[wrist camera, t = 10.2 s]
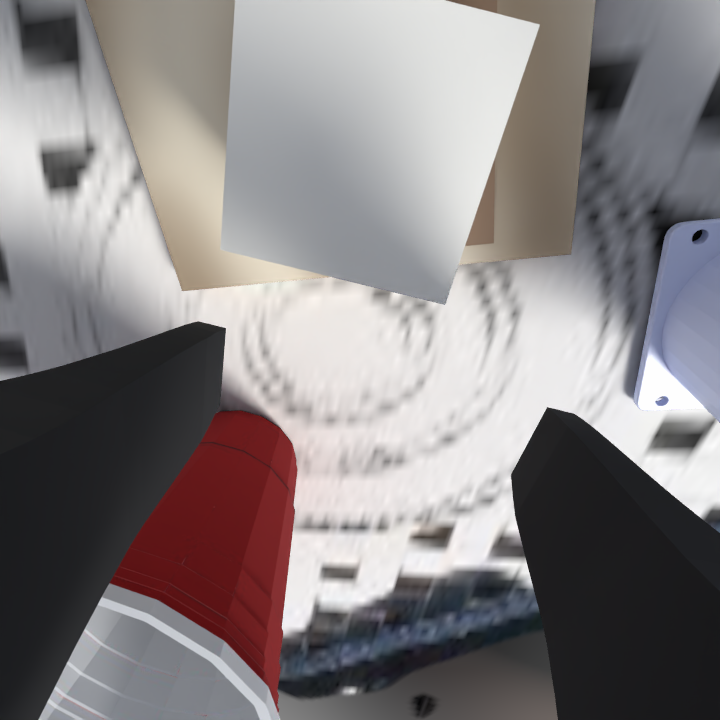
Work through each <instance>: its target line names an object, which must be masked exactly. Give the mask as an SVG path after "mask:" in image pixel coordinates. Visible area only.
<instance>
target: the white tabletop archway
mask: <svg viewBox="0 0 720 720" xmlns="http://www.w3.org/2000/svg"><path fill="white" fill-rule="evenodd" d="M539 26H540V24H536V23H532V22H528V21H524V20H520V19H516V18H512V17H508V16H504V15H501V14H497V13H493V12H489V11H485V10H481V9H477V8H473V7H469V6H466V5H462V4H458V3H454V2H450V1H446V0H235V10H234V27H233V44H232V61H231V78H230V94H229V111H228V128H227V145H226V162H225V179H224V195H223V212H222V229H221V246H220V250H223V251H227V252H231V253H235V254H240V255H244V256H248V257H252V258H256V259H260V260H264V261H268V262H272V263H276V264H280V265H285V266H289V267H293V268H297V269H301V270H305V271H309V272H313V273H317V274H321V275H325V276H329V277H334V278H338V279H342V280H346V281H350V282H354V283H358V284H362V285H366V286H370V287H374V288H379V289H383V290H387V291H391V292H395V293H399V294H403V295H407V296H411V297H415V298H419V299H423V300H428V301H432V302H436V303H440V304H444V305H445V303H446V300H447V298H448V295H449V292H450V289H451V286H452V283H453V280H454V277H455V274H456V271H457V268H458V265H459V262H460V259H461V256H462V253H463V250H464V247H465V244H466V241H467V239H468V236H469V233H470V230H471V227H472V224H473V221H474V218H475V215H476V212H477V209H478V206H479V203H480V200H481V197H482V194H483V191H484V188H485V185H486V182H487V180H488V177H489V174H490V171H491V168H492V165H493V162H494V159H495V156H496V153H497V150H498V147H499V144H500V141H501V138H502V135H503V132H504V129H505V126H506V123H507V121H508V118H509V115H510V112H511V109H512V106H513V103H514V100H515V97H516V94H517V91H518V88H519V85H520V82H521V79H522V76H523V73H524V70H525V67H526V65H527V62H528V59H529V56H530V53H531V50H532V47H533V44H534V41H535V38H536V35H537V32H538V29H539Z"/></svg>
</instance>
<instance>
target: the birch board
mask: <svg viewBox="0 0 720 720" xmlns="http://www.w3.org/2000/svg"><path fill="white" fill-rule="evenodd" d="M85 1H86V4H87V7H88V10H89V13H90V16H91V19H92V22H93V25H94V28H95V31H96V34H97V37H98V40H99V43H100V46H101V49H102V52H103V55H104V58H105V61H106V64H107V67H108V70H109V73H110V76H111V79H112V82H113V85H114V88H115V91H116V94H117V97H118V100H119V103H120V106H121V109H122V112H123V115H124V118H125V121H126V124H127V127H128V130H129V133H130V136H131V139H132V142H133V145H134V148H135V151H136V154H137V157H138V160H139V163H140V166H141V169H142V172H143V175H144V178H145V181H146V184H147V187H148V190H149V193H150V196H151V199H152V202H153V205H154V208H155V211H156V214H157V217H158V220H159V223H160V226H161V229H162V232H163V235H164V238H165V241H166V244H167V247H168V250H169V253H170V256H171V259H172V262H173V265H174V268H175V271H176V274H177V277H178V280H179V283H180V286H181V288H182V291H188V290H199V289H209V288H220V287H230V286H241V285H251V284H262V283H272V282H283V281H294V280H304V279H315V278H325V277H329V276H325V275H321V274H317V273H313V272H309V271H305V270H301V269H297V268H293V267H289V266H285V265H280V264H276V263H272V262H268V261H264V260H260V259H256V258H252V257H248V256H244V255H240V254H235V253H231V252H227V251H223V250H220V246H221V229H222V212H223V195H224V179H225V162H226V145H227V128H228V111H229V94H230V78H231V61H232V44H233V27H234V10H235V0H85ZM446 1H450V2H454V3H458V4H462V5H466V6H469V7H473V8H477V9H481V10H485V11H489V12H493V13H497V14H501V15H504V16H508V17H512V18H516V19H520V20H524V21H528V22H532V23H536V24H540V26H539V29H538V32H537V35H536V38H535V41H534V44H533V47H532V50H531V53H530V56H529V59H528V62H527V65H526V67H525V70H524V73H523V76H522V79H521V82H520V85H519V88H518V91H517V94H516V97H515V100H514V103H513V106H512V109H511V112H510V115H509V118H508V121H507V123H506V126H505V129H504V132H503V135H502V138H501V141H500V144H499V147H498V150H497V153H496V156H495V159H494V162H493V165H492V168H491V171H490V174H489V177H488V180H487V182H486V185H485V188H484V191H483V194H482V197H481V200H480V203H479V206H478V209H477V212H476V215H475V218H474V221H473V224H472V227H471V230H470V233H469V236H468V239H467V241H466V244H465V247H464V250H463V253H462V256H461V259H460V262H459V265H463V264H473V263H484V262H494V261H505V260H516V259H526V258H537V257H547V256H558V255H568V254H571V250H572V240H573V230H574V219H575V209H576V199H577V188H578V178H579V168H580V158H581V147H582V137H583V127H584V116H585V106H586V96H587V86H588V75H589V65H590V55H591V44H592V34H593V24H594V14H595V3H596V0H446Z"/></svg>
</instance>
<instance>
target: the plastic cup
mask: <svg viewBox="0 0 720 720" xmlns="http://www.w3.org/2000/svg"><path fill="white" fill-rule="evenodd" d="M296 477H297V466H296V457H295V453H294V449H293V445H292V443H291V442H290V440H289V439H288V438H287V436H286V435H285V434H284V433H283V431H282V430H281V429H280V428H279V427H277V426H276V425H274V424H273V423H271V422H270V421H268V420H267V419H265V418H264V417H262V416H259V415H255V414H251V413H248V412H244V411H241V410H240V411H220V412H218V413H216V414H215V415H214V417H213V419H212V421H211V424H210V425H209V427H208V429H207V431H206V433H205V435H204V437H203V439H202V441H201V442H200V444H199V445H198V447H197V448H196V450H195V451H194V453H193V454H192V456H191V457H190V459H189V460H188V461H187V463H186V464H185V466H184V467H183V469H182V470H181V472H180V473H179V474H178V476H177V477H176V479H175V480H174V482H173V483H172V485H171V486H170V487H169V489H168V490H167V492H166V493H165V495H164V496H163V497H162V499H161V500H160V502H159V503H158V505H157V506H156V507H155V509H154V510H153V512H152V513H151V515H150V516H149V518H148V519H147V520H146V522H145V523H144V525H143V526H142V528H141V530H140V531H139V533H138V534H137V536H136V537H135V539H134V541H133V542H132V544H131V545H130V547H129V549H128V551H127V552H126V554H125V556H124V558H123V560H122V561H121V563H120V565H119V567H118V569H117V570H116V572H115V574H114V576H113V578H112V579H111V581H110V583H109V585H108V587H107V588H106V590H105V592H104V594H103V596H102V598H101V599H100V601H99V603H98V605H97V607H96V609H95V611H94V613H93V614H92V616H91V618H90V620H89V622H88V624H87V626H86V628H85V630H84V631H83V633H82V635H81V637H80V639H79V641H78V643H77V645H76V646H75V648H74V650H73V652H72V654H71V656H70V658H69V660H68V662H67V664H66V666H65V668H64V670H63V672H62V674H61V676H60V678H59V680H58V682H57V684H56V686H55V688H54V690H53V692H52V694H51V696H50V698H49V700H48V702H47V704H46V706H45V708H44V710H43V712H42V714H41V716H40V718H39V720H280V717H279V714H278V712H279V709H278V706H277V703H278V697H279V695H278V692H277V688H278V681H279V675H280V669H281V667H280V664H279V658H280V651H281V644H282V638H283V630H282V619H283V610H284V601H285V592H286V584H287V575H288V566H289V557H290V549H291V540H292V531H293V523H294V514H295V509H294V506H293V504H294V495H295V486H296Z"/></svg>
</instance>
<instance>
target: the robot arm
mask: <svg viewBox="0 0 720 720" xmlns="http://www.w3.org/2000/svg"><path fill="white" fill-rule="evenodd" d="M701 229H702V235H701V237H700V238H699V239H698V240H696V241H693V242H692V236H693V234H694V233H695V232H697V231H698V230H701ZM225 333H226V328H223V327H219V326H215V325H211V324H206V323H202V322H194V323H190V324H187V325H184V326H181V327H178V328H175V329H172V330H169V331H166V332H164V333H161V334H158V335H155V336H152V337H150V338H147V339H144V340H141V341H138V342H135V343H132V344H130V345H127V346H124V347H121V348H118V349H115V350H112V351H109V352H106V353H102V354H99V355H96V356H93V357H89V358H86V359H83V360H80V361H77V362H73V363H70V364H67V365H64V366H60V367H56V368H53V369H49V370H45V371H41V372H37V373H33V374H29V375H25V376H21V377H16V378H12V379H7V380H3V381H0V720H39V718H40V716H41V714H42V712H43V710H44V708H45V706H46V704H47V702H48V700H49V698H50V696H51V694H52V692H53V690H54V688H55V686H56V684H57V682H58V680H59V678H60V676H61V674H62V672H63V670H64V668H65V666H66V664H67V662H68V660H69V658H70V656H71V654H72V652H73V650H74V648H75V646H76V645H77V643H78V641H79V639H80V637H81V635H82V633H83V631H84V630H85V628H86V626H87V624H88V622H89V620H90V618H91V616H92V614H93V613H94V611H95V609H96V607H97V605H98V603H99V601H100V599H101V598H102V596H103V594H104V592H105V590H106V588H107V587H108V585H109V583H110V581H111V579H112V578H113V576H114V574H115V572H116V570H117V569H118V567H119V565H120V563H121V561H122V560H123V558H124V556H125V554H126V552H127V551H128V549H129V547H130V545H131V544H132V542H133V541H134V539H135V537H136V536H137V534H138V533H139V531H140V530H141V528H142V526H143V525H144V523H145V522H146V520H147V519H148V518H149V516H150V515H151V513H152V512H153V510H154V509H155V507H156V506H157V505H158V503H159V502H160V500H161V499H162V497H163V496H164V495H165V493H166V492H167V490H168V489H169V487H170V486H171V485H172V483H173V482H174V480H175V479H176V477H177V476H178V474H179V473H180V472H181V470H182V469H183V467H184V466H185V464H186V463H187V461H188V460H189V459H190V457H191V456H192V454H193V453H194V451H195V450H196V448H197V447H198V445H199V444H200V442H201V441H202V439H203V437H204V435H205V433H206V431H207V429H208V427H209V425H210V424H211V421H212V419H213V417H214V415H215V413H216V411H217V409H218V407H219V405H220V397H221V384H222V372H223V359H224V346H225ZM661 396H664V397H663V399H661V400H660V401H656V400H657V398H659V397H661ZM633 399H634V403H635V404H636V405H637V407H638V408H639V409H641V410H645V411H651V410H674V409H697V408H706V409H707V410H708V411H709V412H710V413H711V414H712V415H713V416H714V417H715V418H716V419H717V420H718V421H719V422H720V218H717V219H707V220H697V221H688V222H681V223H677V224H675V225H674V226H672V227H671V228H670V229H669V230H668V231H667V233H666V235H665V238H664V243H663V248H662V253H661V258H660V263H659V269H658V274H657V279H656V284H655V289H654V294H653V299H652V305H651V310H650V315H649V320H648V325H647V330H646V336H645V341H644V346H643V351H642V356H641V361H640V366H639V372H638V377H637V382H636V387H635V392H634V397H633ZM511 479H512V491H513V501H514V509H515V516H516V521H517V525H518V529H519V533H520V537H521V541H522V545H523V549H524V553H525V557H526V561H527V565H528V569H529V572H530V576H531V580H532V584H533V588H534V592H535V595H536V599H537V603H538V607H539V611H540V615H541V619H542V623H543V628H544V632H545V637H546V642H547V647H548V654H549V660H550V667H551V673H552V680H553V686H554V693H555V699H556V707H557V715H558V720H720V533H719V532H718V531H716V530H715V529H714V528H712V527H711V526H710V525H709V524H707V523H706V522H705V521H704V520H702V519H701V518H700V517H699V516H697V515H696V514H695V513H694V512H692V511H691V510H690V509H689V508H687V507H686V506H685V505H684V504H682V503H681V502H680V501H679V500H677V499H676V498H675V497H674V496H673V495H671V494H670V493H669V492H668V491H667V490H665V489H664V488H663V487H662V486H661V485H660V484H658V483H657V482H656V481H655V480H654V479H652V478H651V477H650V476H649V475H648V474H647V473H645V472H644V471H643V470H642V469H641V468H640V467H639V466H637V465H636V464H635V463H634V462H633V461H632V460H630V459H629V458H628V457H627V456H626V455H625V454H624V453H622V452H621V451H620V450H619V449H618V448H617V447H615V446H614V445H613V444H612V443H611V442H610V441H609V440H607V439H606V438H605V437H604V436H603V435H601V434H600V433H599V432H598V431H597V430H595V429H594V428H593V427H592V426H590V425H589V424H588V423H587V422H585V421H584V420H582V419H581V418H580V417H578V416H577V415H575V414H572V413H568V412H564V411H560V410H556V409H552V408H548V407H547V409H546V411H545V413H544V414H543V416H542V418H541V420H540V422H539V424H538V426H537V427H536V429H535V431H534V433H533V435H532V437H531V439H530V441H529V442H528V444H527V446H526V448H525V450H524V452H523V454H522V455H521V457H520V459H519V461H518V463H517V465H516V467H515V468H514V470H513V472H512V474H511Z"/></svg>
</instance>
